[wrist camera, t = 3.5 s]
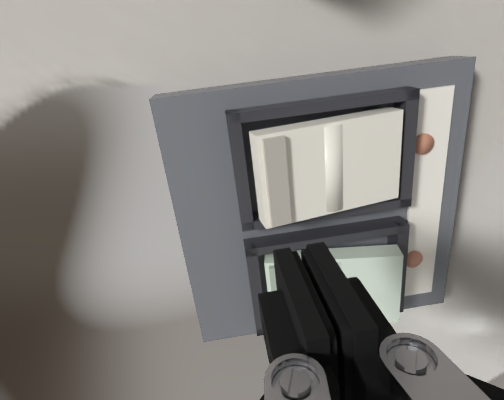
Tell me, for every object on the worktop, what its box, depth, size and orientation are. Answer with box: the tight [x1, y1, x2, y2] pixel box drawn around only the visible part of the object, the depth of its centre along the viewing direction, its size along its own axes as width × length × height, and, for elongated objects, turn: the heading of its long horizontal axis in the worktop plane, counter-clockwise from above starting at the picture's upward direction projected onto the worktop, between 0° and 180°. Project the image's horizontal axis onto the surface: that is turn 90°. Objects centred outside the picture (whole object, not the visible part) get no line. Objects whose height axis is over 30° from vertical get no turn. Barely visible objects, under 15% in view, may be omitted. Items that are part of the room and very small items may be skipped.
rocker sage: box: [264, 244, 404, 323], centre depth 25 cm, size 9×6×2 cm, turn 97°
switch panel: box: [149, 56, 476, 342], centre depth 25 cm, size 20×19×4 cm
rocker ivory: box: [249, 107, 403, 229], centre depth 21 cm, size 9×6×2 cm, turn 97°
